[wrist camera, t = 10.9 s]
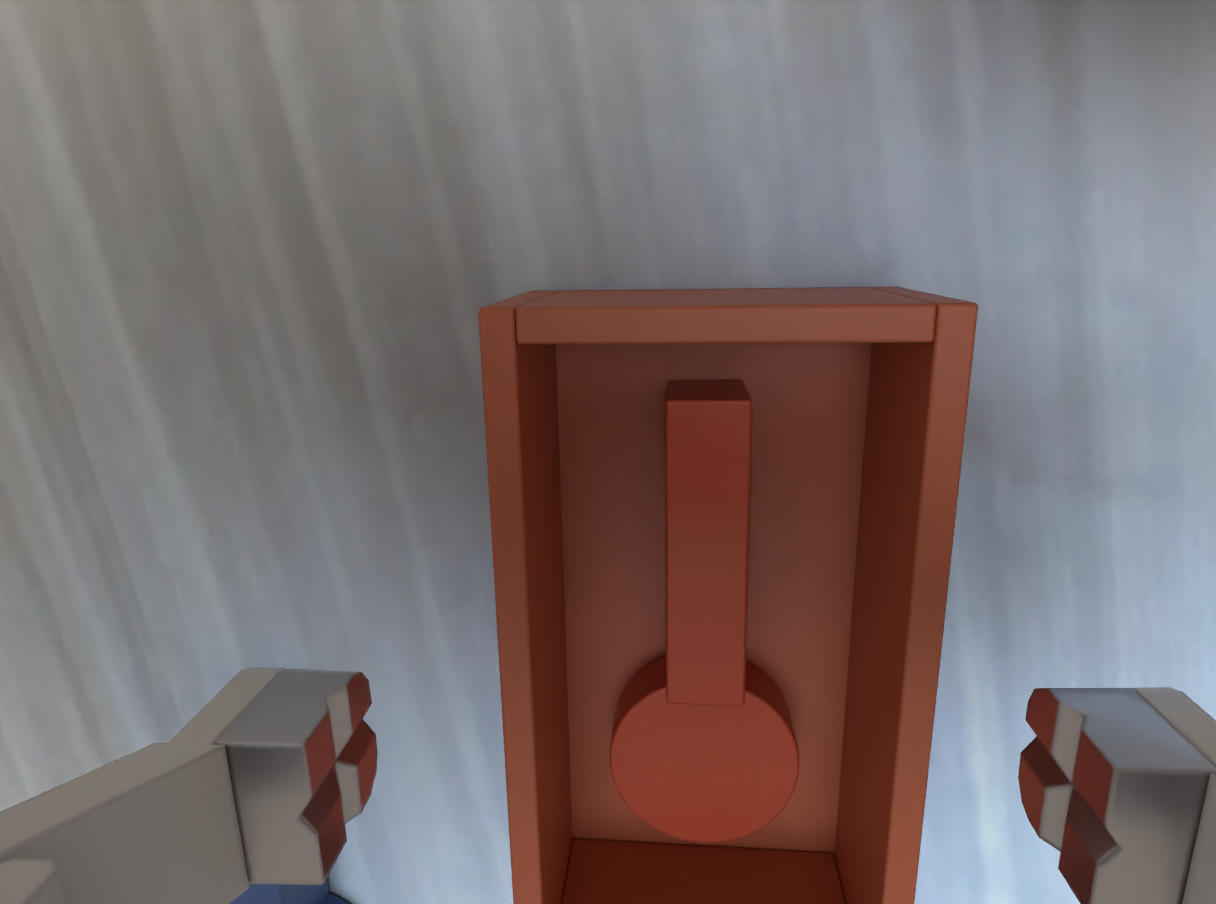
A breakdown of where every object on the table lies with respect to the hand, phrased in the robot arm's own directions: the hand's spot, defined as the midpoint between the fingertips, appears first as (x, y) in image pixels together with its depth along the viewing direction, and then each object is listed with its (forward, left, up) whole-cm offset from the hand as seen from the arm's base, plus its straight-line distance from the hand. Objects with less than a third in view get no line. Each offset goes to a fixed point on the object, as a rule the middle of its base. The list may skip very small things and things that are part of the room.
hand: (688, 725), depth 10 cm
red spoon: (0, -2, -8) cm, 8 cm away
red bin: (+1, -2, -8) cm, 9 cm away
